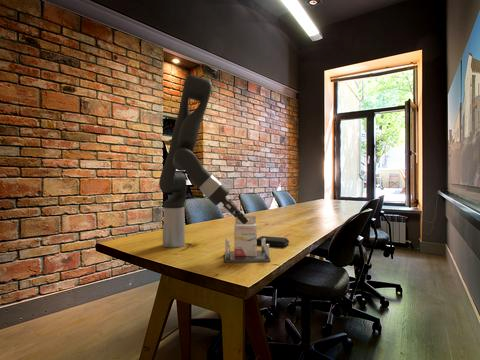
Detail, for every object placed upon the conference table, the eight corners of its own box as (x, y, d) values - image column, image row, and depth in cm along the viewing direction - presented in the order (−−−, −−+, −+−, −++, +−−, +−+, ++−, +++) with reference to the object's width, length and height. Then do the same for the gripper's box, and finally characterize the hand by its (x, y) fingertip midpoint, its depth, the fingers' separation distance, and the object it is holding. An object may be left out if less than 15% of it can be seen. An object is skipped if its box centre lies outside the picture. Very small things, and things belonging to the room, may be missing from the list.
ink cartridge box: (234, 256, 105) (233, 217, 105) (234, 253, 110) (234, 215, 110) (257, 256, 105) (256, 217, 105) (256, 252, 110) (256, 215, 110)
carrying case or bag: (290, 243, 130) (261, 240, 136) (290, 237, 130) (261, 234, 136) (284, 249, 121) (252, 245, 127) (284, 242, 121) (252, 239, 127)
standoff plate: (225, 262, 101) (225, 246, 101) (224, 253, 113) (224, 239, 112) (270, 261, 102) (270, 245, 102) (265, 252, 114) (265, 238, 113)
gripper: (220, 183, 99) (254, 217, 100) (221, 182, 113) (250, 212, 114) (205, 198, 99) (239, 232, 100) (208, 196, 113) (237, 225, 114)
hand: (245, 221), depth 107 cm, fingers open, 5 cm apart
